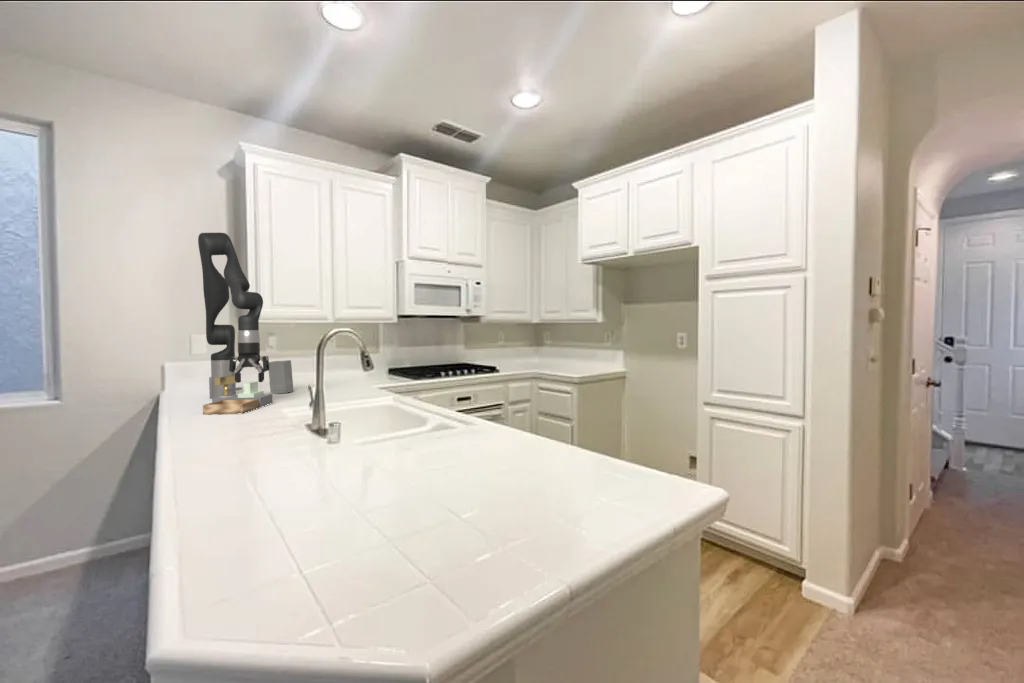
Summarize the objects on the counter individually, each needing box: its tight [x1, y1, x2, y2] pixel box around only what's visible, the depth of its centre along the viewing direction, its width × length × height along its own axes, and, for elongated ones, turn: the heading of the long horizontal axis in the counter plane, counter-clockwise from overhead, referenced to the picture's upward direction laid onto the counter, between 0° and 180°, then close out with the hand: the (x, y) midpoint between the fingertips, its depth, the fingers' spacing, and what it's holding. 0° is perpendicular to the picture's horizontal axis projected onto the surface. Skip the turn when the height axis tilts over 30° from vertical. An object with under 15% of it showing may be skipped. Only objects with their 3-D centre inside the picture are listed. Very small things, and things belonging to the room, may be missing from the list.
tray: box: [202, 399, 260, 416], centre depth 163 cm, size 14×12×4 cm
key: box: [215, 376, 243, 396], centre depth 176 cm, size 12×2×8 cm, turn 171°
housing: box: [211, 393, 274, 408], centre depth 175 cm, size 18×10×4 cm, turn 95°
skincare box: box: [268, 360, 294, 394], centre depth 213 cm, size 8×7×16 cm
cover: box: [237, 381, 265, 398], centre depth 175 cm, size 6×8×6 cm
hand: (249, 382), depth 175 cm, fingers open, 8 cm apart
